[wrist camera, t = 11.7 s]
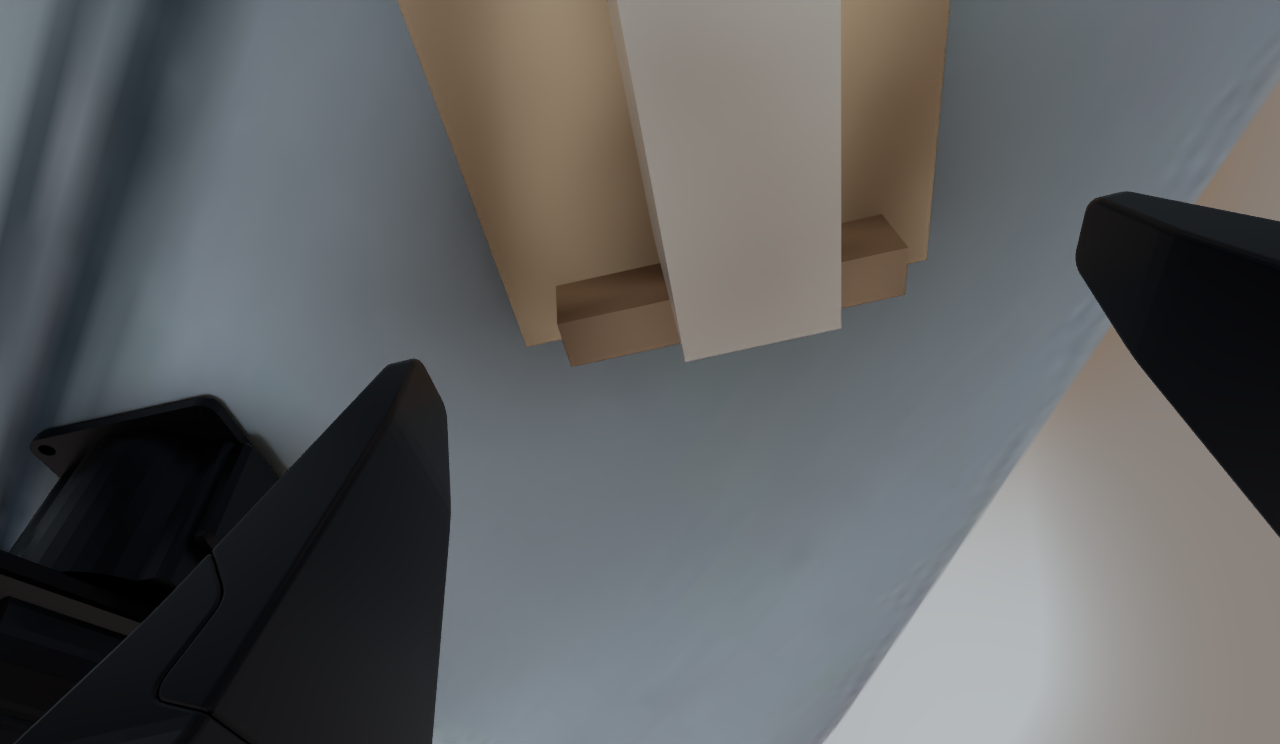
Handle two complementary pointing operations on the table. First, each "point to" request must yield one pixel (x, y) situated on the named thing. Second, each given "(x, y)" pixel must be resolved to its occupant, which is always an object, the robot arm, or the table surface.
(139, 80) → the table surface
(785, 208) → the white rectangular block
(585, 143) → the wooden tray
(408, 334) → the table surface
